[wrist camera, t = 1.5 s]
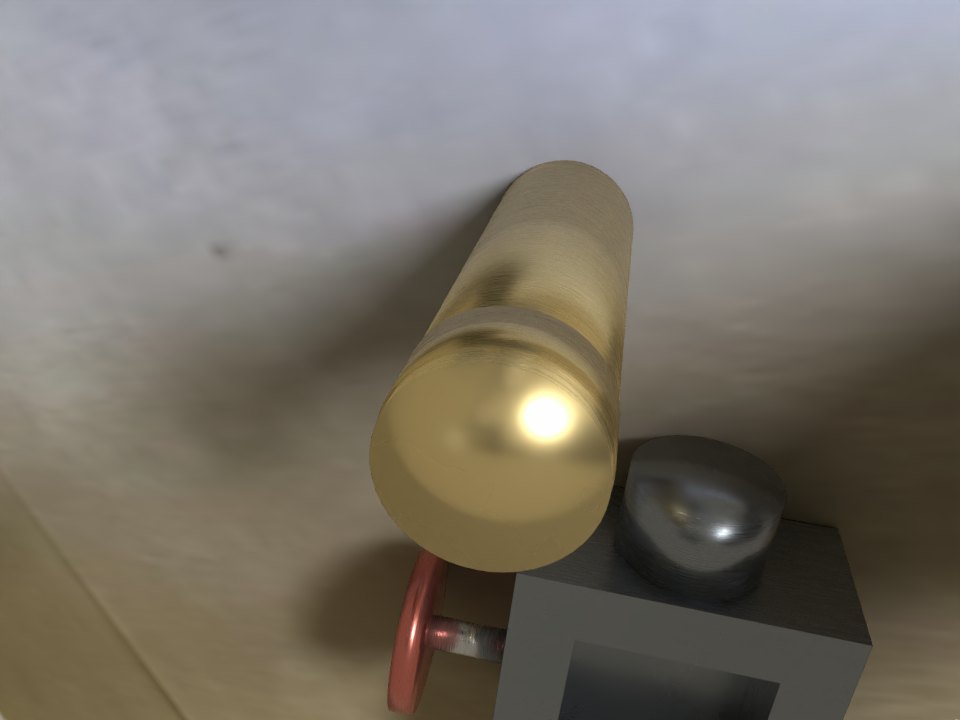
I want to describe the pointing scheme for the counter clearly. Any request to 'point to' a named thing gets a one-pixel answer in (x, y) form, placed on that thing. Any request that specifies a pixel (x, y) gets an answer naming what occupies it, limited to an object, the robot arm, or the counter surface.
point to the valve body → (664, 607)
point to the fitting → (516, 382)
